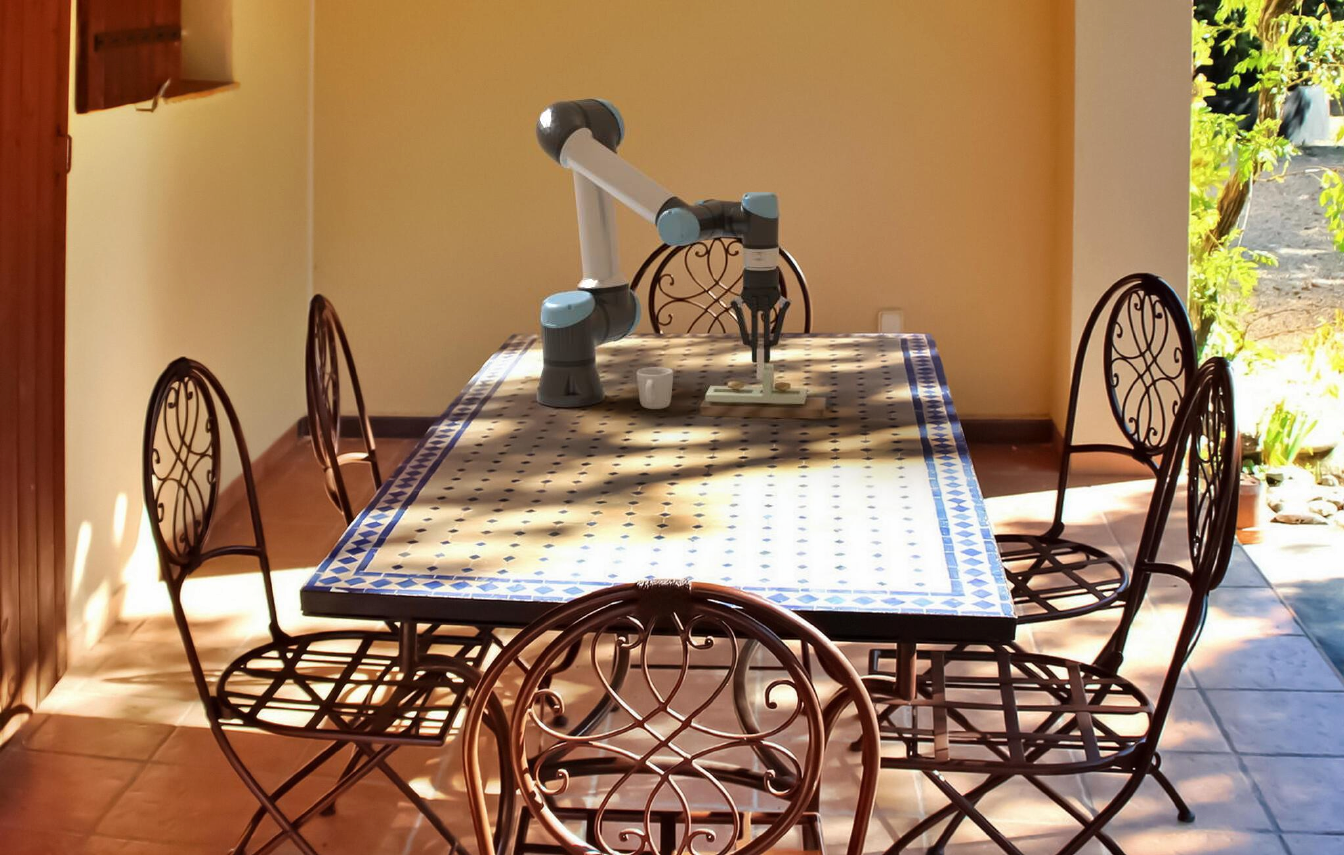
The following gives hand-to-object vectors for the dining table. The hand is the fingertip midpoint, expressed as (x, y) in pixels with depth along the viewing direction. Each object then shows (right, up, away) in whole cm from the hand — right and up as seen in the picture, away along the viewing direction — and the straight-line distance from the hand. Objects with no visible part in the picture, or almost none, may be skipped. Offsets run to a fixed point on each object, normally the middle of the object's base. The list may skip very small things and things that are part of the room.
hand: (761, 377), depth 306 cm
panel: (-1, -4, +2) cm, 5 cm away
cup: (-23, -7, +6) cm, 25 cm away
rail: (+1, -7, +2) cm, 7 cm away
